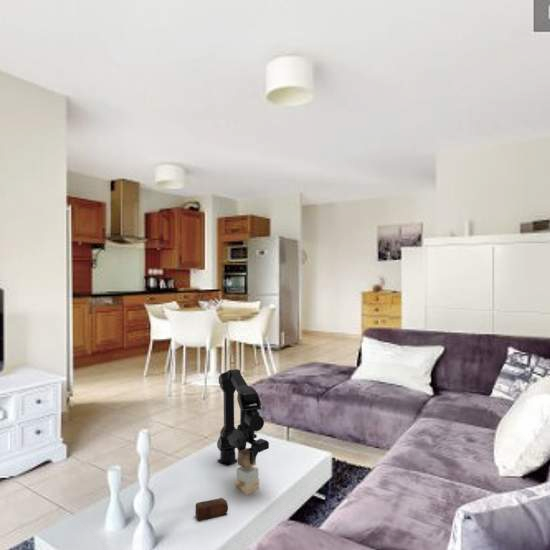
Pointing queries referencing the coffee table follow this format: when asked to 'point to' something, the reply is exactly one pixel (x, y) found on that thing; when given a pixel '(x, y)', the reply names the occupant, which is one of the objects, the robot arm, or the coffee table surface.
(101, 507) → the coffee table surface
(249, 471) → the tower top
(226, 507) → the brick
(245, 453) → the walnut block
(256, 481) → the tower base
